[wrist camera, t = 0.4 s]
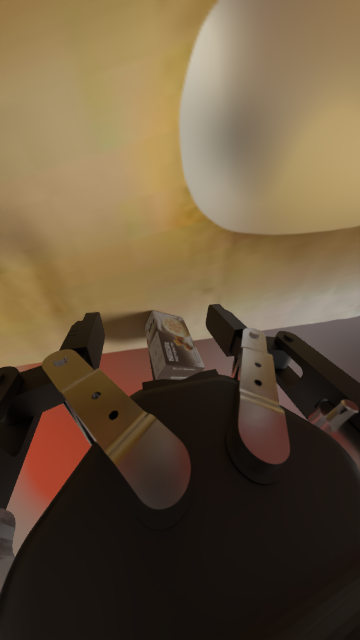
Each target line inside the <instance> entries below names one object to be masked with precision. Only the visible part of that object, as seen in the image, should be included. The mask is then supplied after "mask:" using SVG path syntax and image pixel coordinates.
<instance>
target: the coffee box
mask: <svg viewBox="0 0 360 640" xmlns="http://www.w3.org/2000/svg"><path fill="white" fill-rule="evenodd" d="M145 332H146V338H147V344H148V350H149V356H150V363H151V369H152V375H153V380H159V379H177V380H182V379H185V378H187V377H190V376H192V375H194V374H196V373H198V372H202V371H203V369H204V368H205V367H204V364H203V362H202V360H201V358H200V356H199V353H198V351H197V349H196V347H195V344H194V342H193V340H192V338H191V335H190V333H189V331H188V329H187V327H186V324H185V322H184V320H183V318H181V317H177V316H173V315H169V314H165V313H161V312H156V311H152V312H151V314H150V317H149V319H148V321H147V323H146V326H145Z"/></svg>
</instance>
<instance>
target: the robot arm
mask: <svg viewBox="0 0 360 640" xmlns="http://www.w3.org/2000/svg"><path fill="white" fill-rule="evenodd" d="M206 327H207V329H208V331H209V332H210V334H211V335H212V336H213V338H214V339H215V341H216V342H217V343H218V345H219V346H220V348H221V349H222V351H223V352H224V353H225V355H226V356H227V357H228V356H234V360H233V365H232V372H231V377H229V376H225V375H219V374H218V372H217V371H216V369H214V370H209V371H202V372H198V373H196V374H194V375H192V376H190V377H187V378H185V379H182V380H177V379H159V380H153V381H148V382H143V383H142V385H143V389H141V390H139V391H137V392H136V393H134V394H132V395H131V396H130V397H129V396H128V395H127V394H125V392H123V391H122V390H121V389H120V388H119V387H118V386H117V385H116V384H115V383H114V382H113V381H112V380H111V379H110V378H108V376H107V375H106V374H104V373H103V372H102V371H101V370H100V369H99V365H100V360H101V355H102V350H103V345H104V339H105V335H104V329H103V325H102V320H101V316H100V313H99V312H94V313H86V314H85V317H84V319H83V321H77V322H76V323H75V324H74V325H72V327H71V329H70V331H69V332H68V334H67V337H66V338H65V340H64V342H63V344H62V346H61V348H60V350H59V351H57V352H54V353H52V354H51V355H49V356H48V357H46V358H45V359H44V361H43V362H42V365H41V366H39V367H36V368H33V369H29V370H27V371H23V372H19V371H18V369H16V368H15V367H11V366H8V367H2V368H0V640H360V383H359V382H357V381H356V380H355V379H353V378H352V377H351V376H349V375H348V374H347V373H345V372H344V371H343V370H341V369H340V368H339V367H337V366H336V365H335V364H333V363H332V362H331V361H329V360H328V359H327V358H326V357H324V356H323V355H321V354H320V353H319V352H318V351H316V350H315V349H314V348H312V347H311V346H309V345H308V344H307V343H306V342H304V341H303V340H302V339H300V338H299V337H298V336H296V335H295V334H292V333H290V332H286V331H279V332H278V333H277V334H276V337H267V336H265V334H264V333H263V332H261V331H260V330H257V329H254V328H247V327H246V326H245V325H244V324H243V323H242V322H241V321H240V320H238V318H236V317H235V316H234V315H233V314H232V313H231V312H229V311H227V310H225V309H224V308H223V307H222V306H221V305H220V304H213V305H209V307H208V312H207V318H206ZM291 359H293V360H294V361H295V362H296V363H297V364H298V365H299V366H300V367H301V368H302V371H303V375H302V377H301V378H300V377H299V376H298V375H297V374H296V373H295V372H294V371H293V370H292V369H291V368H290V367H289V366H288V364H289V362H290V361H291ZM276 382H277V384H278V385H279V386H280V387H281V389H282V390H283V391H284V392H285V393H286V394H287V396H288V397H289V398H290V399H291V401H292V402H293V403H294V404H295V405H296V407H297V408H298V409H299V410H300V411H301V413H302V414H303V415H304V416H305V417H306V419H307V420H308V421H309V422H308V421H307V420H305V419H303V418H301V417H300V416H298V415H296V414H295V413H293V412H291V411H289V410H288V409H286V408H284V407H283V406H281V405H280V404H279V399H278V391H277V385H276ZM62 403H63V404H64V406H65V407H66V409H67V410H68V412H69V413H70V415H71V416H72V418H73V419H74V420H75V422H76V423H77V425H78V426H79V428H80V429H81V431H82V432H83V434H84V436H85V437H86V439H87V440H88V442H89V443H90V445H91V448H90V449H89V450H88V452H87V453H86V454H85V456H84V457H83V459H82V460H81V461H80V463H79V464H78V466H77V467H76V468H75V470H74V471H73V473H72V474H71V475H70V477H69V478H68V479H67V481H66V482H65V484H64V485H63V486H62V488H61V490H60V491H59V492H58V493H57V495H56V496H55V498H54V499H53V500H52V502H51V503H50V504H49V506H48V507H47V509H46V510H45V511H44V513H43V514H42V516H41V517H40V518H39V520H38V521H37V523H36V524H35V525H34V527H33V528H32V530H31V531H30V532H29V534H28V536H27V537H26V539H25V540H24V542H23V544H22V545H21V548H20V549H19V551H18V553H17V555H16V557H15V556H14V554H13V548H12V544H13V537H14V532H15V525H16V522H15V517H14V515H13V514H12V513H11V512H9V511H7V510H6V508H7V505H8V503H9V500H10V497H11V495H12V492H13V489H14V487H15V484H16V481H17V479H18V476H19V473H20V471H21V468H22V465H23V463H24V460H25V457H26V455H27V452H28V449H29V447H30V444H31V441H32V439H33V436H34V433H35V431H36V428H37V425H38V423H39V420H40V417H41V415H42V412H44V411H46V410H49V409H51V408H53V407H55V406H58V405H60V404H62Z"/></svg>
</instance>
